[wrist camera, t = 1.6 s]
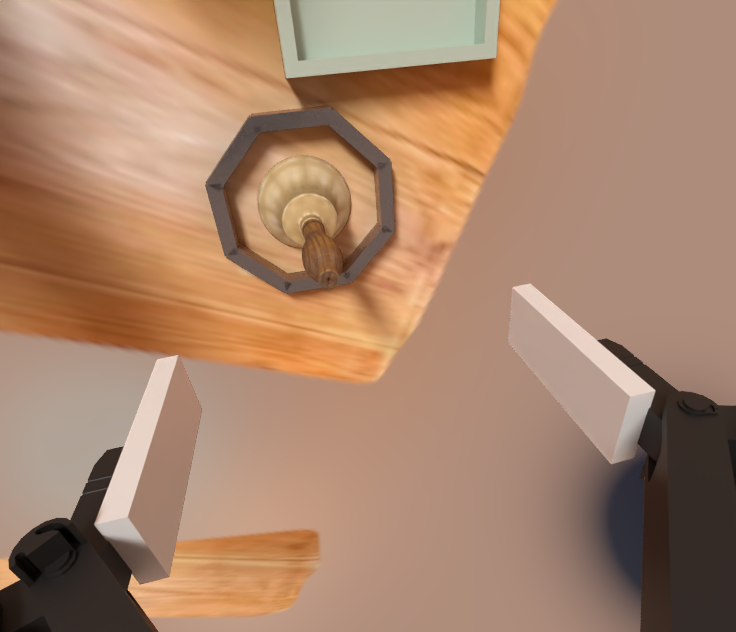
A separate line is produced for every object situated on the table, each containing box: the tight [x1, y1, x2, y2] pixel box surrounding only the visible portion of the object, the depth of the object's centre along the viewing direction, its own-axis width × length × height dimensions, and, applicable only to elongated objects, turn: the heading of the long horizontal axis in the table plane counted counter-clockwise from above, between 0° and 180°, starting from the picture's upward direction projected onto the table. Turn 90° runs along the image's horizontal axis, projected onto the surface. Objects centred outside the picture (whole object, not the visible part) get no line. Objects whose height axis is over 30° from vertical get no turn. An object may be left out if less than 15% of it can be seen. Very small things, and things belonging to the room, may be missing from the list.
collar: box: [205, 106, 395, 293], centre depth 38 cm, size 15×15×2 cm
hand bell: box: [258, 156, 351, 289], centre depth 32 cm, size 8×8×16 cm
